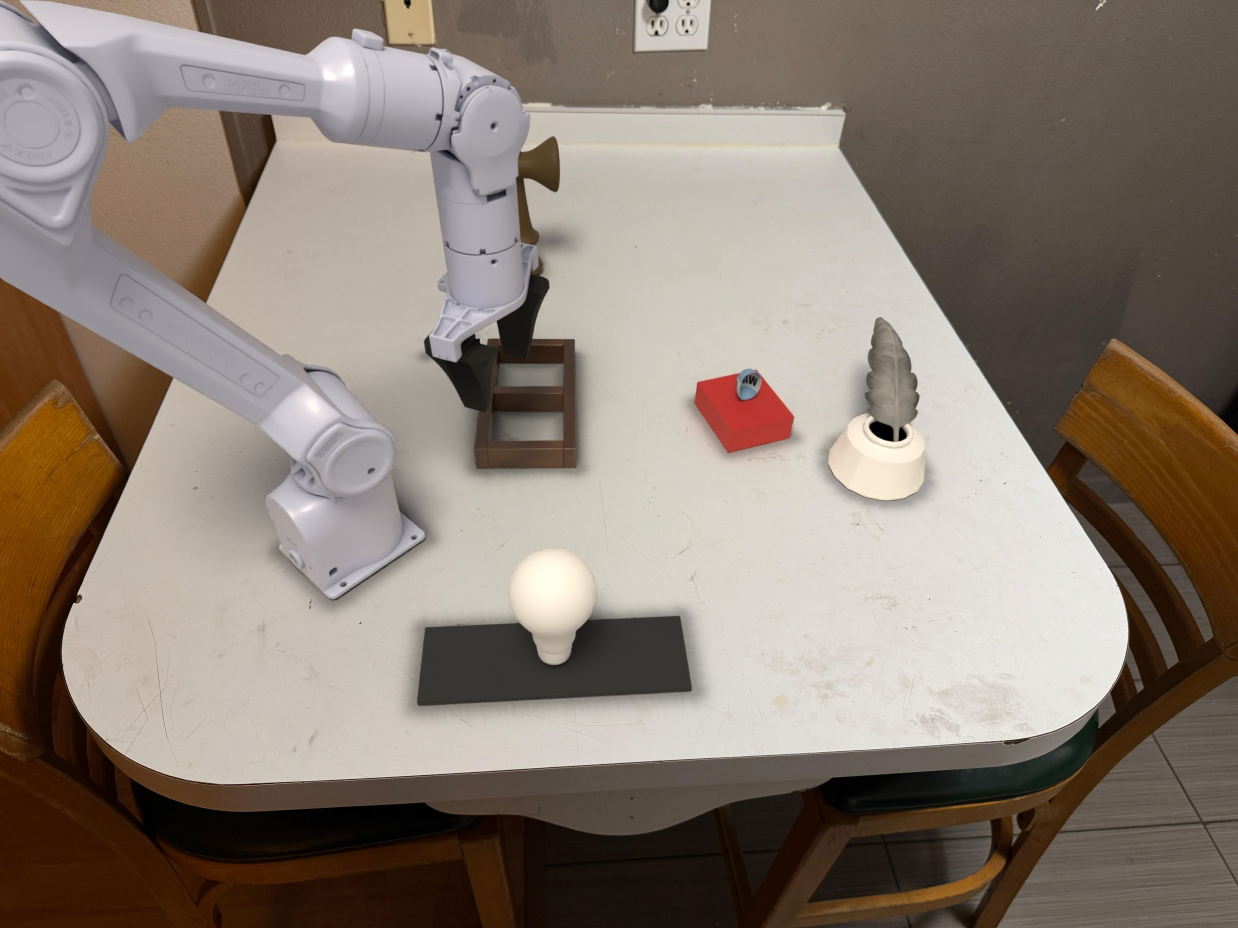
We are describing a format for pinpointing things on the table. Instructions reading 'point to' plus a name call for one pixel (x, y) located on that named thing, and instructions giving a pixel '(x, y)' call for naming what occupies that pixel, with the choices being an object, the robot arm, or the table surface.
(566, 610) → the lightbulb
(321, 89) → the robot arm
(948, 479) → the table surface
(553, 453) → the holder
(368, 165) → the table surface
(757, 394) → the red slab
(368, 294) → the table surface
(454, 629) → the mat
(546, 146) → the kendama
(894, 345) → the inkwell
